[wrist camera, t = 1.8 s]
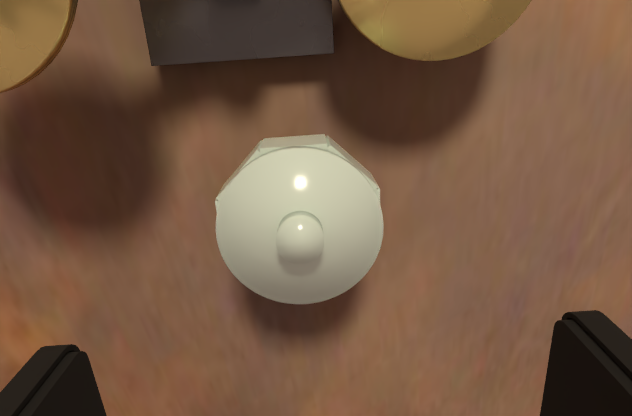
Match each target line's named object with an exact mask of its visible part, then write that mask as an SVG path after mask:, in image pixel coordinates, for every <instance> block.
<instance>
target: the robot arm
mask: <svg viewBox="0 0 632 416" xmlns="http://www.w3.org/2000/svg"><path fill="white" fill-rule="evenodd" d="M0 416H106V413H105V409H104V406H103V403H102V400H101V397H100V393H99V390H98V387H97V384H96V381H95V377H94V374H93V371H92V368H91V365H90V361H89V358H88V356H87V354H86V353H85V352H83V351H80V350H79V348H78V347H77V346H76V345H72V344H71V345H56V346H44V347H41V348H40V349H39V350H38V351H37V352H36V353H35V354H34V355H33V356H32V357H31V358H30V360H29V361H28V362H27V363H26V364H25V365H24V366H23V367H22V369H21V370H20V371H19V372H18V373H17V374H16V375H15V377H14V378H13V379H12V380H11V381H10V382H9V383H8V384H7V386H6V387H5V388H4V389H3V390H2V391H1V392H0ZM540 416H632V339H631V338H629V337H628V336H627V335H626V334H625V333H624V332H623V331H622V330H621V329H620V328H618V327H617V326H616V325H615V324H614V323H613V322H612V321H611V320H610V319H609V318H608V317H606V316H605V315H604V314H603V313H601V312H600V311H596V310H594V311H579V312H567V313H565V314H564V315H563V317H562V320H559V321H557V322H556V323H555V325H554V330H553V336H552V343H551V349H550V355H549V362H548V368H547V374H546V381H545V387H544V393H543V400H542V406H541V412H540Z"/></svg>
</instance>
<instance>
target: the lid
mask: <svg viewBox="0 0 632 416" xmlns="http://www.w3.org/2000/svg"><path fill="white" fill-rule="evenodd" d="M215 204H216V210H217V217H216V237H217V242H218V246H219V250H220V252H221V255H222V258H223V259H224V261H225V263H226V265H227V267H228V268H229V269H230V271H231V272H232V273H233V275H234V276H235V277H236V278H237V279H238V280H239V281H240V282H241V283H242V284H244V285H245V286H246V287H247V288H249V289H250V290H252V291H254V292H255V293H257V294H259V295H261V296H263V297H265V298H268V299H271V300H274V301H277V302H282V303H288V304H311V303H317V302H321V301H325V300H328V299H331V298H334V297H336V296H338V295H340V294H342V293H344V292H346V291H347V290H349V289H350V288H352V287H353V286H354V285H355V284H357V283H358V282H359V281H360V280H361V279H362V278H363V277H364V276H365V275H366V273H367V272H368V271H369V269H370V268H371V266H372V265H373V263H374V261H375V259H376V257H377V256H378V253H379V251H380V248H381V243H382V238H383V215H382V211H381V207H380V189H379V186H378V185H377V183H376V181H375V179H374V178H373V176H372V174H371V173H370V172H369V171H368V170H367V169H365V168H364V167H363V166H362V165H361V164H360V163H359V162H357V161H356V160H355V159H354V158H353V157H352V156H351V155H350V154H348V153H347V152H346V151H345V150H344V149H343V148H342V147H340V146H339V145H338V144H337V143H336V142H335V141H334V140H332V139H331V138H330V137H329V136H328V135H327V136H326V137H325V134H319V135H305V136H291V137H277V138H264V139H263V141H262V140H261V141H260V142H259V143H258V144H257V145H256V147H255V148H254V149H253V150H252V151H251V153H250V154H249V155H248V156H247V157H246V159H245V160H244V161H243V162H242V163H241V164H240V166H239V167H238V168H237V169H236V170H235V172H234V173H233V174H232V175H231V176H230V178H229V179H228V180H227V181H226V182H225V184H224V185H223V187H222V189H221V190H220V192H219V194H218V196H217V197H216V201H215Z"/></svg>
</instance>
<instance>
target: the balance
mask: <svg viewBox="0 0 632 416" xmlns="http://www.w3.org/2000/svg"><path fill="white" fill-rule="evenodd" d="M139 1H140V6H141V12H142V17H143V22H144V28H145V33H146V38H147V44H148V49H149V54H150V60H151V65H152V66H158V65H172V64H187V63H201V62H215V61H230V60H244V59H258V58H272V57H287V56H301V55H315V54H330V53H334V42H333V22H332V1H331V0H139ZM338 2H339V4H340V6H341V7H342V9H343V11H344V13H345V14H346V16H347V17H348V19H349V20H350V22H351V23H352V24H353V25H354V26H355V27H356V29H357V30H358V31H359V32H360V33H361V34H362V35H363V36H364V37H366V38H367V39H368V40H369V41H370V42H372V43H373V44H375V45H376V46H378V47H379V48H381V49H383V50H385V51H387V52H389V53H391V54H394V55H396V56H400V57H403V58H407V59H414V60H421V61H440V60H447V59H453V58H456V57H460V56H464V55H467V54H469V53H471V52H474V51H476V50H478V49H480V48H482V47H484V46H485V45H487V44H489V43H490V42H492V41H493V40H495V39H496V38H497V37H499V36H500V35H501V34H503V33H504V32H505V31H506V30H507V29H508V28H509V27H510V26H511V25H512V24H513V23H514V22H515V21H516V20H517V19H518V18H519V17H520V15H521V14H522V13H523V12H524V11H525V9H526V8H527V6H528V5H529V3H530V2H531V0H338ZM77 3H78V0H0V93H2V92H6V91H9V90H12V89H14V88H17V87H19V86H21V85H23V84H25V83H27V82H28V81H30V80H31V79H33V78H34V77H36V76H37V75H39V74H40V73H41V72H42V71H43V70H44V69H45V68H46V67H47V66H48V65H49V64H50V63H51V62H52V61H53V60H54V58H55V57H56V56H57V54H58V53H59V52H60V50H61V48H62V47H63V45H64V43H65V41H66V39H67V37H68V35H69V32H70V29H71V27H72V24H73V21H74V17H75V12H76V8H77Z"/></svg>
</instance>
